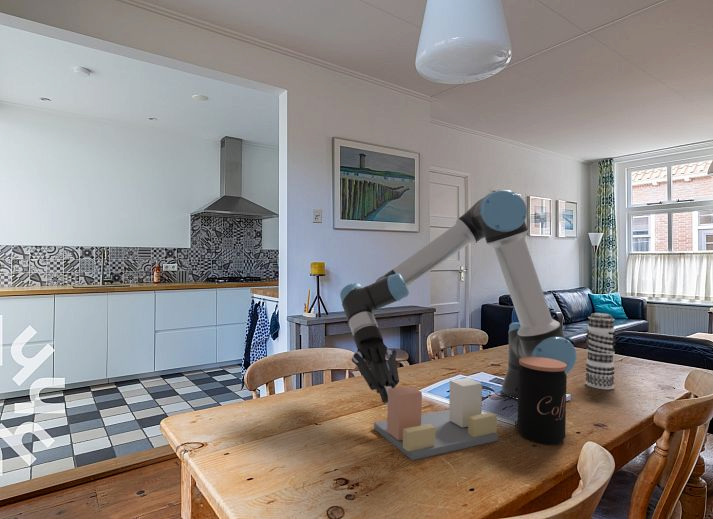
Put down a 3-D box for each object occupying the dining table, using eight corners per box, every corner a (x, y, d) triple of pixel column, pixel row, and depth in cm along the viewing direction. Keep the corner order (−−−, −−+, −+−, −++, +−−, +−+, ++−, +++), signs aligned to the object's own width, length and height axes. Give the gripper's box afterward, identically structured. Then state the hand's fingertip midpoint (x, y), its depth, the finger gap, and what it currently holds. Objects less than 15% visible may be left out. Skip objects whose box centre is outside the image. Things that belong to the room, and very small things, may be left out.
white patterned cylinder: (606, 382, 144) (608, 312, 144) (620, 390, 134) (622, 316, 134) (579, 380, 144) (581, 311, 145) (592, 388, 135) (593, 315, 135)
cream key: (448, 419, 101) (449, 380, 101) (467, 416, 104) (468, 377, 104) (462, 427, 97) (463, 386, 97) (481, 423, 99) (482, 383, 99)
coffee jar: (537, 448, 91) (539, 368, 91) (507, 428, 101) (509, 357, 101) (576, 443, 94) (577, 366, 94) (543, 424, 104) (544, 355, 104)
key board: (372, 428, 99) (372, 406, 99) (452, 414, 110) (453, 394, 110) (410, 460, 84) (410, 434, 84) (499, 440, 94) (500, 416, 94)
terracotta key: (387, 431, 93) (388, 388, 93) (408, 427, 96) (409, 385, 96) (398, 440, 89) (399, 395, 89) (420, 435, 91) (421, 392, 91)
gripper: (381, 338, 116) (412, 417, 101) (340, 341, 110) (366, 425, 95) (391, 323, 111) (424, 403, 96) (348, 325, 106) (377, 410, 91)
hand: (395, 413), depth 96 cm, fingers closed
